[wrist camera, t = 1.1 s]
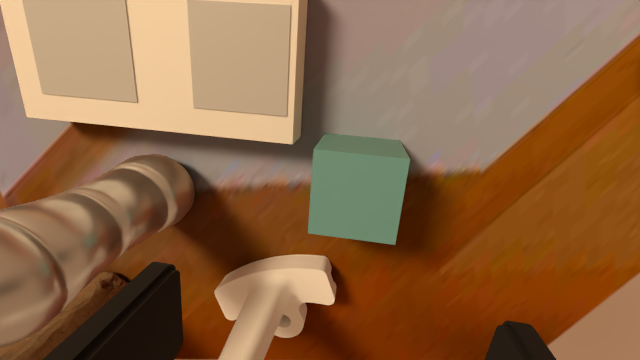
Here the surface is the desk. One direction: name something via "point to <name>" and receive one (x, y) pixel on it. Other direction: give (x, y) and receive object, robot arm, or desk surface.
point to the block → (66, 319)
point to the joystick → (271, 301)
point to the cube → (357, 188)
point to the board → (163, 64)
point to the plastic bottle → (82, 237)
